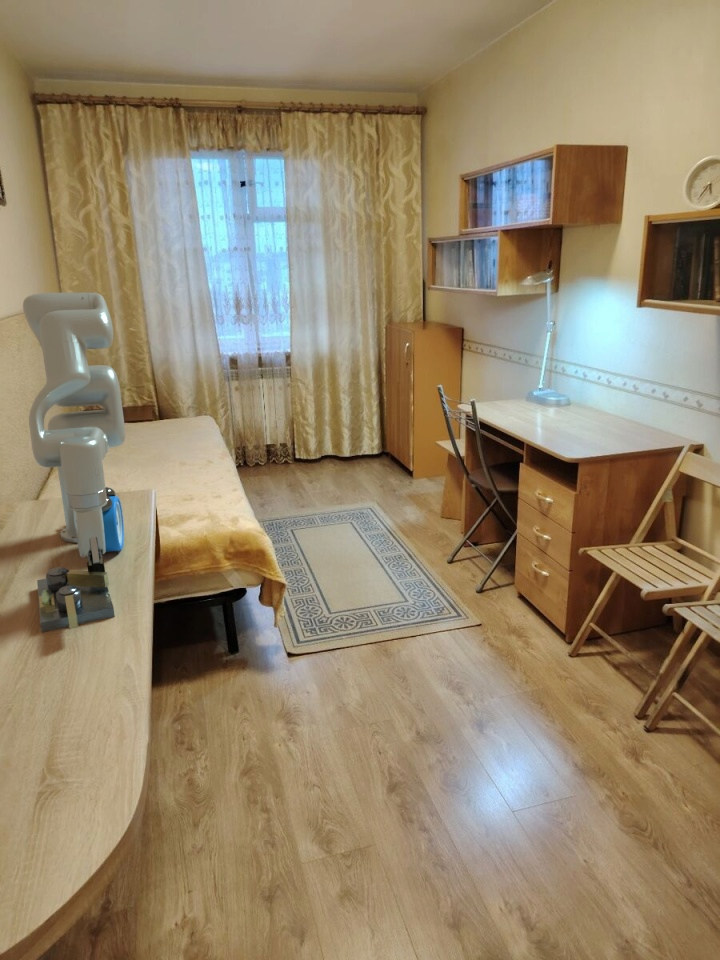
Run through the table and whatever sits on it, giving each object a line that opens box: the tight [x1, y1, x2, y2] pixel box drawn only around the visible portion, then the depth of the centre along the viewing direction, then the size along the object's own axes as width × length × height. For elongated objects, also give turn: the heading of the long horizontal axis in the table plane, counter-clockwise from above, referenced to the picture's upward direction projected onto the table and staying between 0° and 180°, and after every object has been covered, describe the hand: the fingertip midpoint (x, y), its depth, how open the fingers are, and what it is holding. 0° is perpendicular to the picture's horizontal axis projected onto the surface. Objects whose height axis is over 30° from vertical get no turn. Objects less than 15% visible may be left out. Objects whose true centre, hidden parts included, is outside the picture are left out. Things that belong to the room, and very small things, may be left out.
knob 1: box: [45, 566, 110, 591], centre depth 138 cm, size 13×4×4 cm, turn 83°
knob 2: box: [56, 585, 82, 629], centre depth 127 cm, size 13×4×4 cm, turn 26°
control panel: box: [36, 578, 115, 633], centre depth 136 cm, size 20×13×4 cm, turn 26°
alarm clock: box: [102, 486, 125, 556], centre depth 160 cm, size 13×6×15 cm, turn 13°
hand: (97, 579), depth 141 cm, fingers closed
